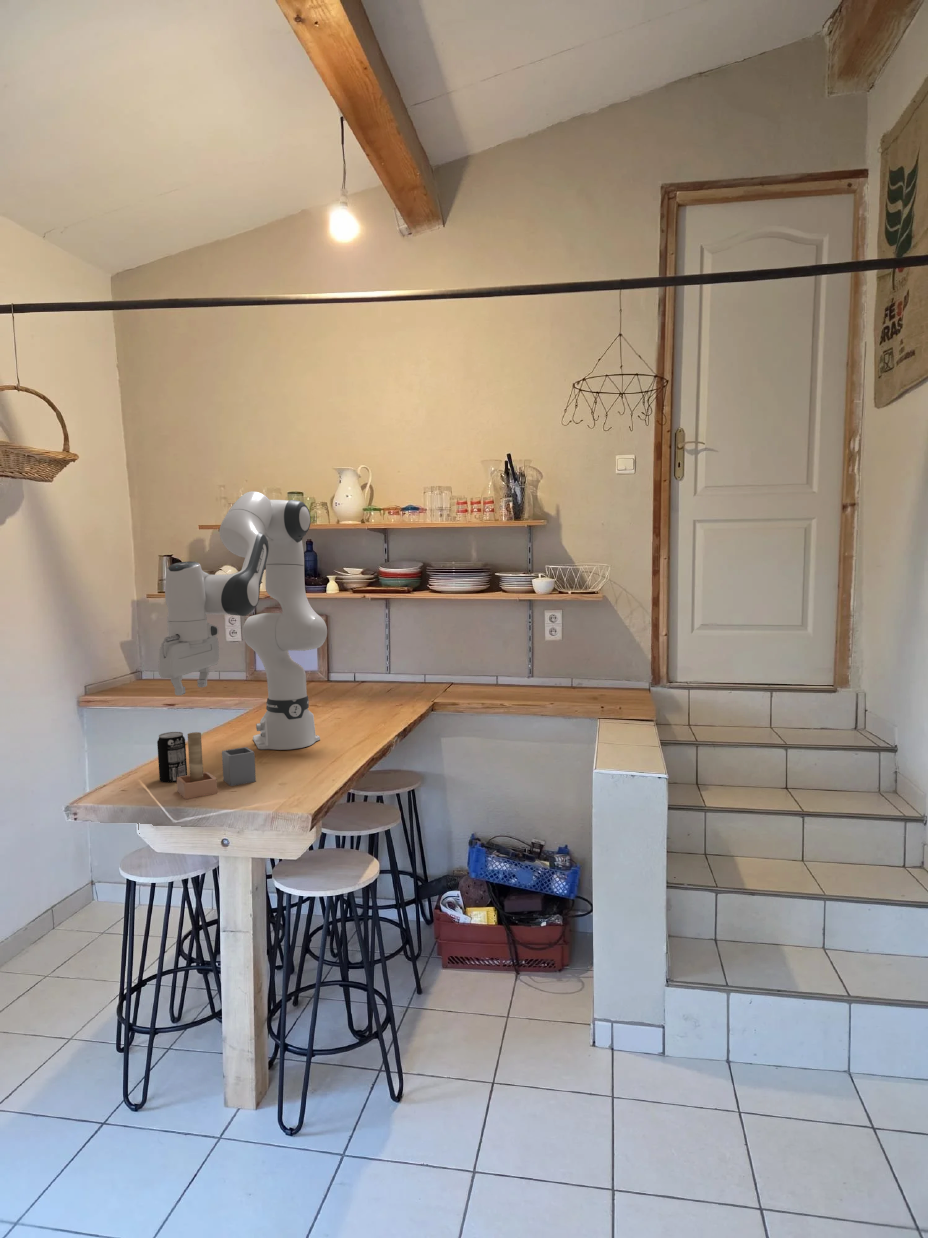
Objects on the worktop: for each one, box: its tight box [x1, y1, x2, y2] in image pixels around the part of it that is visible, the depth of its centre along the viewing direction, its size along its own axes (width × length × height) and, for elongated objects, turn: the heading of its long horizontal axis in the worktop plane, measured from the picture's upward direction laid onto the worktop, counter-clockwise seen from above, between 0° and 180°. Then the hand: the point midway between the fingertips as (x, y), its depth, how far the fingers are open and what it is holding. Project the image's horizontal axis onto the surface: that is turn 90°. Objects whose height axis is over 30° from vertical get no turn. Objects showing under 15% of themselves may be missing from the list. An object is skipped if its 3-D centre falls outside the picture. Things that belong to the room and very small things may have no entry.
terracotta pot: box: [176, 771, 218, 800], centre depth 187 cm, size 7×7×4 cm
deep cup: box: [221, 746, 257, 787], centre depth 195 cm, size 6×6×8 cm
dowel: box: [187, 731, 204, 783], centre depth 186 cm, size 3×3×14 cm
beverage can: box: [156, 731, 188, 784], centre depth 198 cm, size 7×7×12 cm
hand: (191, 690), depth 185 cm, fingers open, 8 cm apart
